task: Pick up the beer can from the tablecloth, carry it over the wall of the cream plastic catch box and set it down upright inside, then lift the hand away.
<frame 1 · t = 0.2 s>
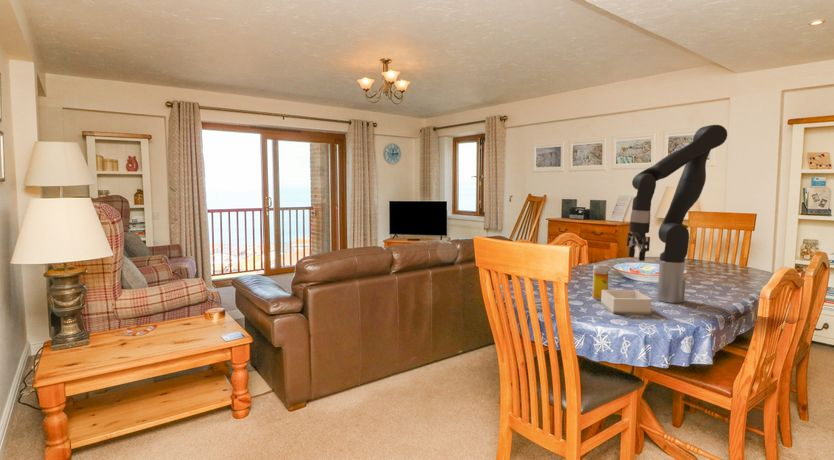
hand: (636, 258, 193), 18 cm above the table, tool pointing down, fingers open, 8 cm apart
catch box: (624, 309, 182), on the table
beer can: (599, 299, 197), on the table
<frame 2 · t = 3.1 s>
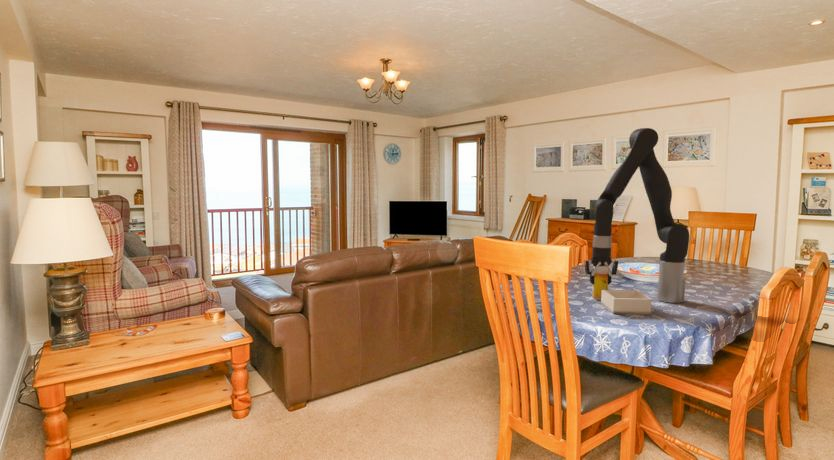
hand: (600, 283, 196), 7 cm above the table, tool pointing down, fingers closed on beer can, 6 cm apart
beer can: (599, 299, 197), on the table, touching gripper
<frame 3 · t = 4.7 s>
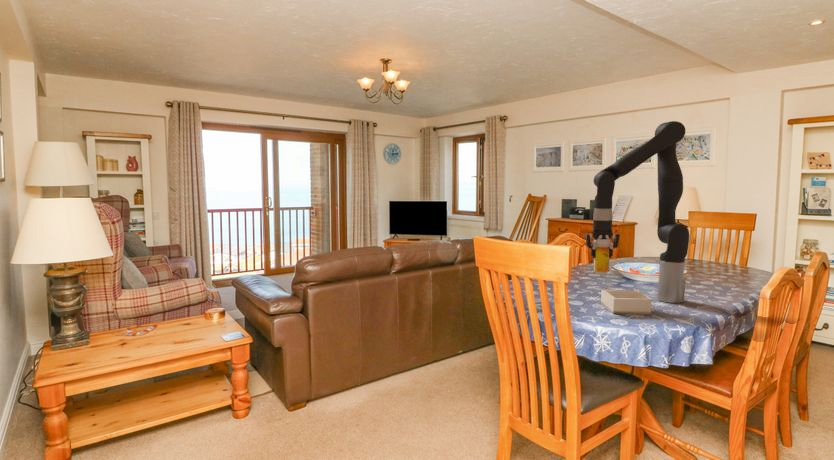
hand: (601, 257, 195), 18 cm above the table, tool pointing down, fingers closed on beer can, 6 cm apart
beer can: (601, 273, 196), point 11 cm above the table, touching gripper
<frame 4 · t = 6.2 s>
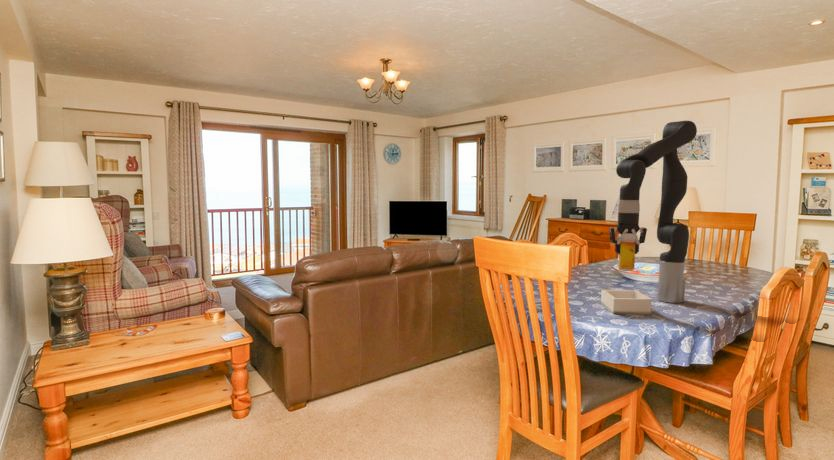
hand: (626, 253, 180), 23 cm above the table, tool pointing down, fingers closed on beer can, 6 cm apart
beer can: (625, 270, 180), point 16 cm above the table, touching gripper
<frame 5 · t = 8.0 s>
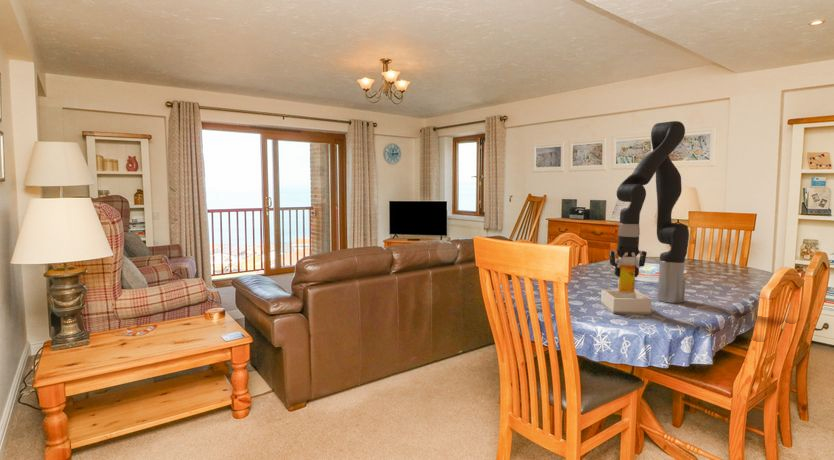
hand: (626, 276, 180), 13 cm above the table, tool pointing down, fingers closed on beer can, 6 cm apart
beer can: (625, 293, 181), point 6 cm above the table, touching gripper
when the fingers open (9 cm above the table, at t = 9.5 s): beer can stays where it is, resting on catch box.
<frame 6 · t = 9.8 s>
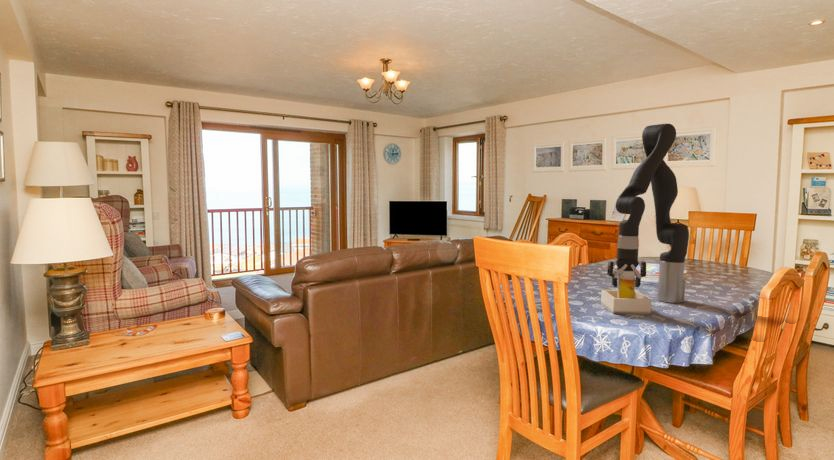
hand: (625, 286, 181), 9 cm above the table, tool pointing down, fingers open, 8 cm apart
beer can: (625, 307, 182), point 1 cm above the table, touching catch box
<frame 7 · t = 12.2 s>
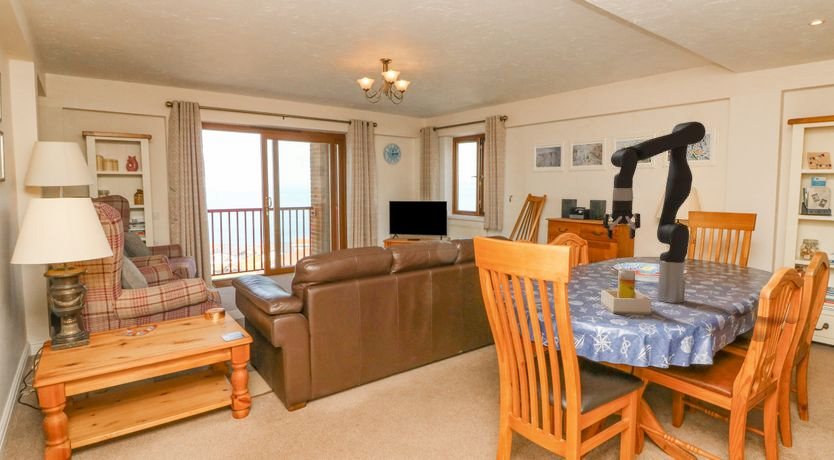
hand: (620, 238, 186), 27 cm above the table, tool pointing down, fingers open, 8 cm apart
nothing on the table moved.
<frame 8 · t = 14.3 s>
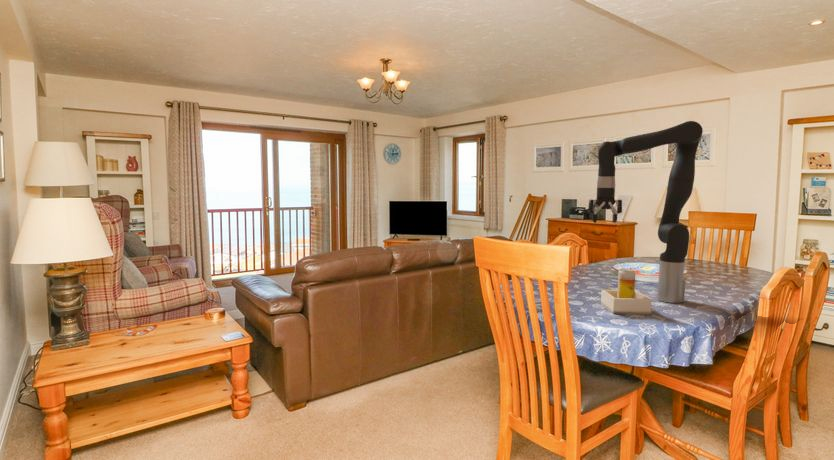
hand: (604, 222, 206), 32 cm above the table, tool pointing down, fingers open, 8 cm apart
nothing on the table moved.
at the end: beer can inside the target area on the catch box (0.1 cm from its centre), point 0.8 cm above the catch box's base; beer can tilted 0°; the gripper is holding nothing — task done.
